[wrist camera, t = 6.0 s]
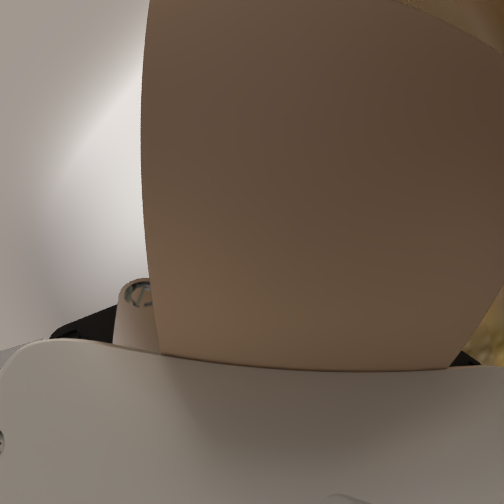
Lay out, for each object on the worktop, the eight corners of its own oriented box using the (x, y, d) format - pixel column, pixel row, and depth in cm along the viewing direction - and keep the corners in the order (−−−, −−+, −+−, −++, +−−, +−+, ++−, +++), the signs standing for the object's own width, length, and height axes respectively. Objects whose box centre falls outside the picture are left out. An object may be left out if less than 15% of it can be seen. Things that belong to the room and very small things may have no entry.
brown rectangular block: (234, 54, 9) (122, -20, 2) (369, 76, 9) (573, 112, 2) (215, 335, 17) (188, 490, 9) (303, 344, 17) (312, 497, 9)
